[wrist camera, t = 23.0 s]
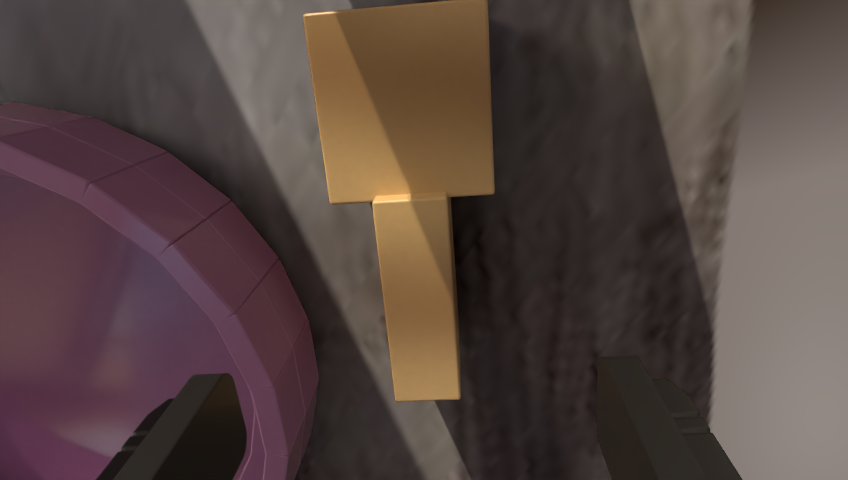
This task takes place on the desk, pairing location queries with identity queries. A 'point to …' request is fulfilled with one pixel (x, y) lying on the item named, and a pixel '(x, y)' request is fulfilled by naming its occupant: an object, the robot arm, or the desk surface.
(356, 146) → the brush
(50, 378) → the bowl
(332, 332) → the desk surface
